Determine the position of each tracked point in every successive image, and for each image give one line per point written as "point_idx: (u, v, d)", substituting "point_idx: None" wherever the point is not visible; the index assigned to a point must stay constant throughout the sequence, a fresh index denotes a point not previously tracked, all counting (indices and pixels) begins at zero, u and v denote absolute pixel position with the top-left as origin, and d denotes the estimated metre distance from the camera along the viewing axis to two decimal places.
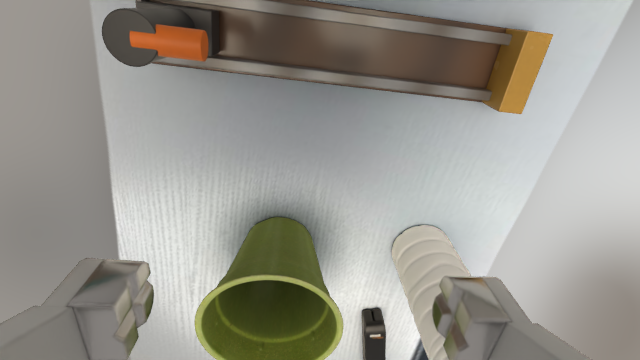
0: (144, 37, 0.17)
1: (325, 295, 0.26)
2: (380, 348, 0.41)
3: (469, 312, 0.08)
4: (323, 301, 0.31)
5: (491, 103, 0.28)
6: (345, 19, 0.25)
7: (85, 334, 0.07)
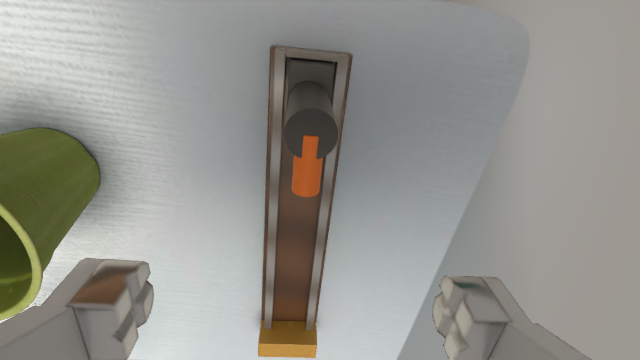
0: (312, 149, 0.18)
1: (26, 305, 0.21)
2: None
3: (469, 312, 0.08)
4: None
5: (262, 332, 0.36)
6: (320, 230, 0.30)
7: (85, 334, 0.07)
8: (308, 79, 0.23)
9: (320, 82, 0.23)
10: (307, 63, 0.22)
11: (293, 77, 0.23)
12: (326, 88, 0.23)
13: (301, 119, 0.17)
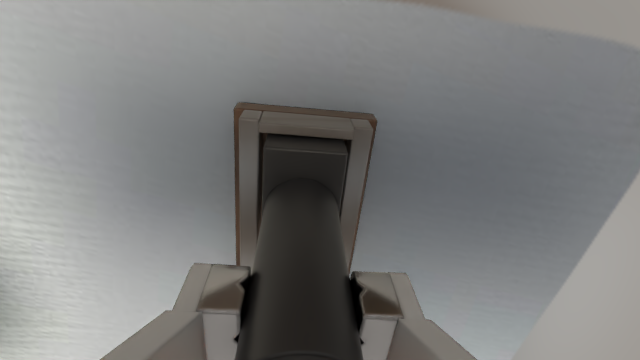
0: None
1: None
2: None
3: (362, 308, 0.08)
4: None
5: None
6: None
7: (208, 337, 0.08)
8: (299, 176, 0.12)
9: (322, 180, 0.12)
10: (297, 149, 0.12)
11: (272, 174, 0.12)
12: (333, 190, 0.13)
13: None
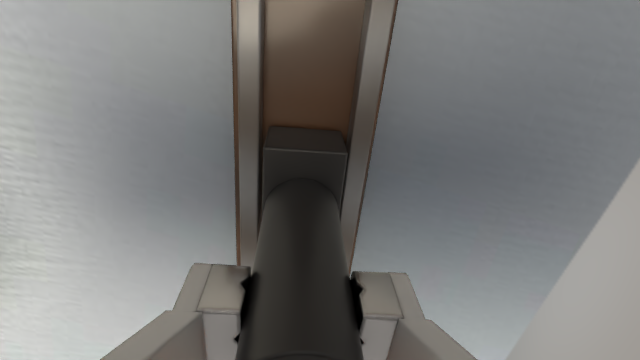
0: None
1: None
2: None
3: (362, 308, 0.08)
4: None
5: None
6: None
7: (208, 338, 0.08)
8: (299, 176, 0.12)
9: (321, 180, 0.12)
10: (297, 149, 0.12)
11: (272, 174, 0.12)
12: (333, 190, 0.13)
13: None
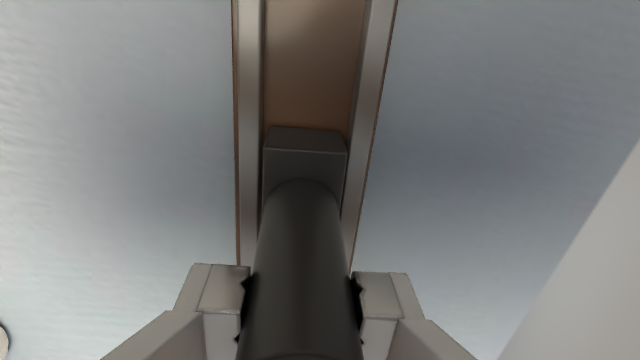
0: None
1: None
2: None
3: (362, 308, 0.08)
4: None
5: None
6: (350, 192, 0.14)
7: (208, 337, 0.08)
8: (299, 176, 0.12)
9: (321, 180, 0.12)
10: (297, 149, 0.12)
11: (272, 174, 0.12)
12: (332, 190, 0.13)
13: None
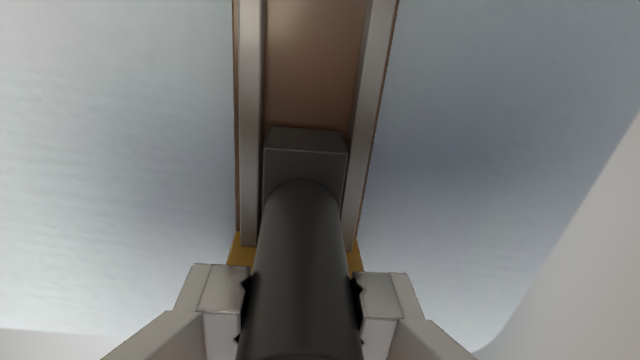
0: None
1: None
2: None
3: (362, 308, 0.08)
4: None
5: (236, 252, 0.15)
6: None
7: (208, 338, 0.08)
8: (299, 176, 0.12)
9: (322, 180, 0.12)
10: (297, 149, 0.12)
11: (272, 174, 0.12)
12: (333, 190, 0.13)
13: None
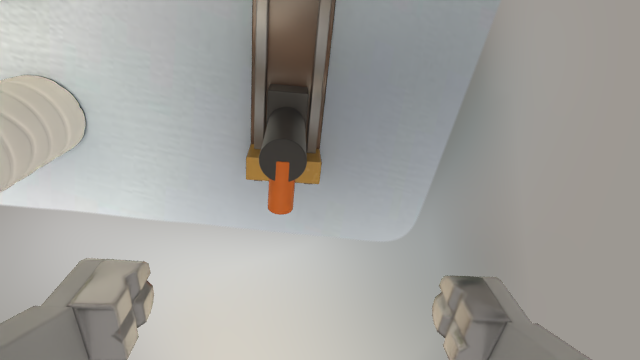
0: (284, 173, 0.20)
1: None
2: None
3: (469, 312, 0.08)
4: None
5: (252, 150, 0.28)
6: None
7: (85, 334, 0.07)
8: (285, 105, 0.25)
9: (296, 108, 0.25)
10: (284, 91, 0.25)
11: (272, 104, 0.25)
12: (302, 113, 0.26)
13: (273, 148, 0.19)
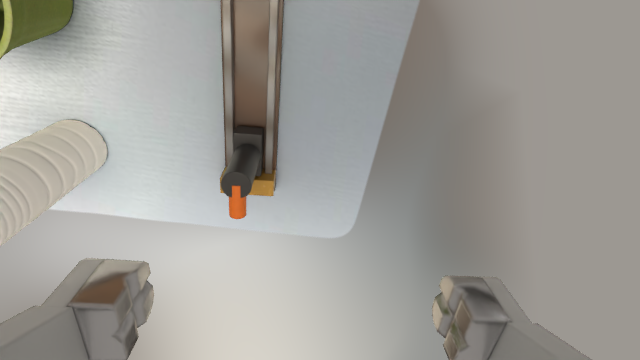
0: (237, 193, 0.31)
1: (0, 54, 0.25)
2: None
3: (469, 312, 0.08)
4: None
5: None
6: (271, 56, 0.34)
7: (85, 334, 0.07)
8: (246, 142, 0.36)
9: (253, 144, 0.37)
10: (244, 133, 0.36)
11: (236, 142, 0.36)
12: (257, 148, 0.37)
13: (229, 177, 0.30)
